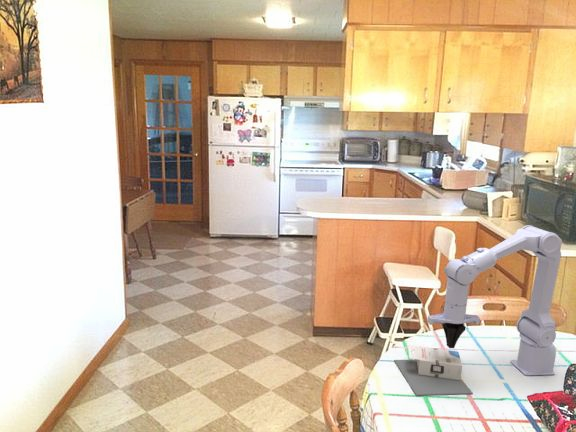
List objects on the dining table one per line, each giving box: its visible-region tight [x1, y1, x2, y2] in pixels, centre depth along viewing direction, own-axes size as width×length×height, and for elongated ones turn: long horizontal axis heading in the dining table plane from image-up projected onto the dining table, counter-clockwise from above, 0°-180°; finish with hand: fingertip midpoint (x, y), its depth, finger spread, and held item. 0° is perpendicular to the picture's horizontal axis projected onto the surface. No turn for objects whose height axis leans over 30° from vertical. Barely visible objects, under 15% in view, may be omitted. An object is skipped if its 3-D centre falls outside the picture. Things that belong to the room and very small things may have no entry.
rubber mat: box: [393, 359, 474, 397], centre depth 134 cm, size 16×18×1 cm
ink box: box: [407, 345, 463, 380], centre depth 137 cm, size 9×5×15 cm
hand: (450, 346), depth 133 cm, fingers closed
